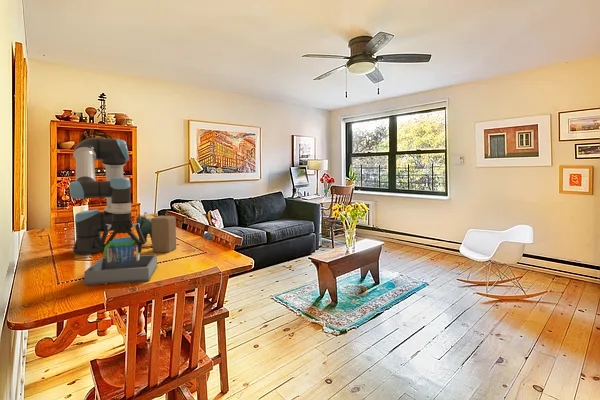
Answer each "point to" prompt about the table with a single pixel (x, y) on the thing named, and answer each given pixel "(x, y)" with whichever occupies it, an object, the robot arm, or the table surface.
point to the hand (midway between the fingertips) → (123, 260)
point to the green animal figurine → (145, 226)
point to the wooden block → (163, 233)
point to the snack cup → (121, 250)
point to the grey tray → (121, 271)
